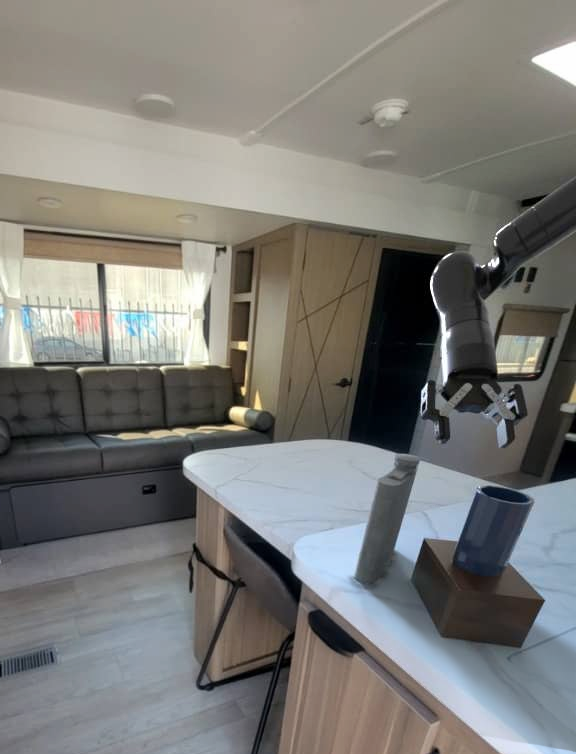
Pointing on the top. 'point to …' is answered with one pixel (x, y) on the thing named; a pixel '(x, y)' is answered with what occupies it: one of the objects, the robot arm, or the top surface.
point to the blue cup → (491, 530)
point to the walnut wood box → (474, 598)
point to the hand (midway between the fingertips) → (475, 443)
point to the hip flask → (386, 518)
